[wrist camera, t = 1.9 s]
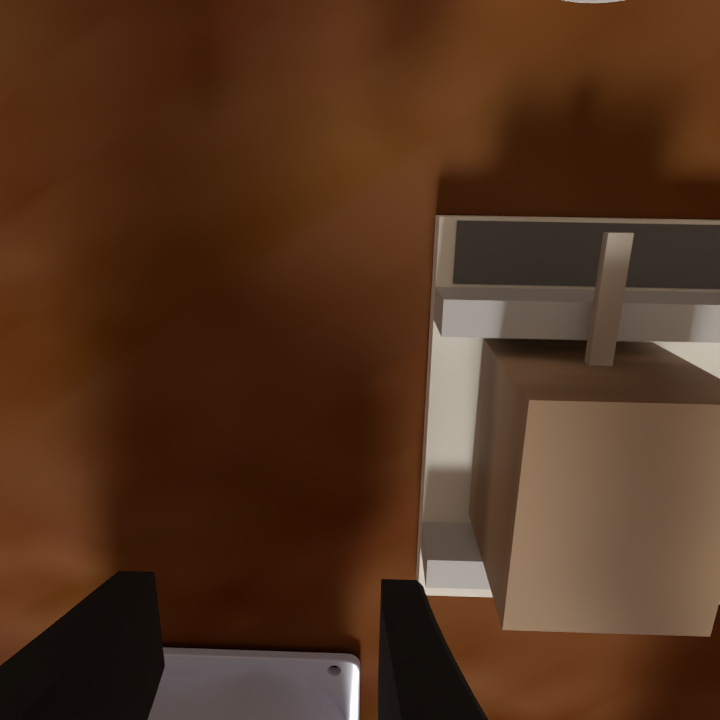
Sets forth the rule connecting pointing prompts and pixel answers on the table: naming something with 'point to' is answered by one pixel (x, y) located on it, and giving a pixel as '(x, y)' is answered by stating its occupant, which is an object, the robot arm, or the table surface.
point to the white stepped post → (593, 1)
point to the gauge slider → (598, 478)
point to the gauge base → (539, 338)
